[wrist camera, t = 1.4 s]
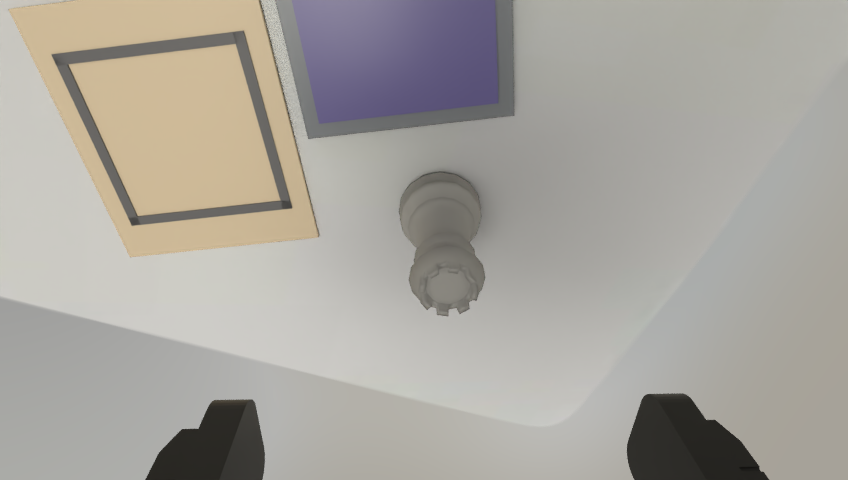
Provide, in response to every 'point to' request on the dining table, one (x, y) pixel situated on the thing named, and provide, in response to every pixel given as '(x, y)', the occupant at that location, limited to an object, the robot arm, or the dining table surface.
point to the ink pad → (398, 62)
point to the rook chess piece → (443, 241)
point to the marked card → (175, 119)
